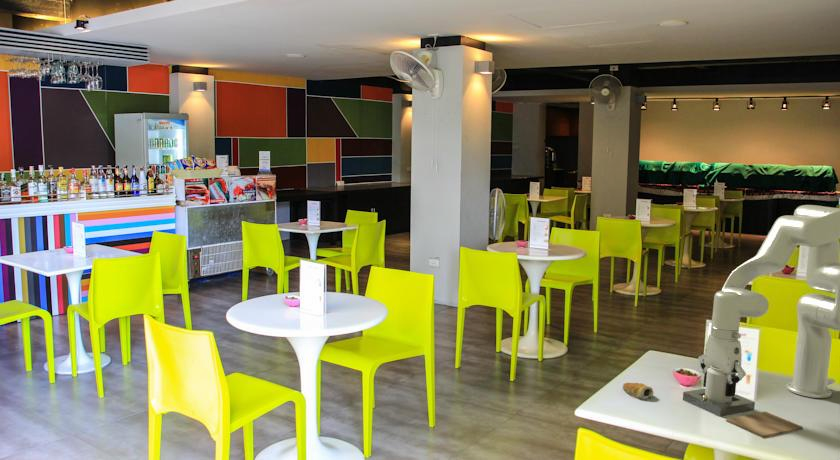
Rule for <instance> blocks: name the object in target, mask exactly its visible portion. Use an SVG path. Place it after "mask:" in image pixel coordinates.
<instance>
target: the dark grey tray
mask: <svg viewBox="0 0 840 460" xmlns="http://www.w3.org/2000/svg"><path fill="white" fill-rule="evenodd" d="M705 389H706V387H703V388H699V389H694V390H693V389H692V390H686V391H683V393H682V401H684V402H685V403H686V402H687V403H689V404H691V405H693V406H696V407H698V408H699V409H702V410H705V411H706V412H709V413H711V414H713V415H715V416H717V417H720V418H721V417H725V416H731V415H738V414H741V413H747V412H751V411H755V406H756V401H754V400H751V399H748V398H746V397H744V396H741V395H738V394H736V393H735V395H734V396H732V402H727V403H722V404H719V403H717V402H715V401H712V400H710V399H708V398H707V396H706V395H705Z"/></svg>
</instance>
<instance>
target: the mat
mask: <svg viewBox="0 0 840 460" xmlns="http://www.w3.org/2000/svg"><path fill="white" fill-rule="evenodd" d="M725 421H726V422H727V423H729V424H731V425H734V426H735V427H739V428H741V429H742V430H745V431H746V432H749V433H751V434H753V435H756V436H757V437H761V438H762V439H763V438H767V437H773V436H777V435H783V434H786V433H791V432H795V431H800V430H803V429H804V426H801V425H799V424H797V423H795V422H792V421H790V420H788V419H784V418H782V417H780V416H777V415H775V414H773V413H770V412H769V411H760V412H756V413H751V414H746V415H740V416H735V417H729V418H726V419H725Z"/></svg>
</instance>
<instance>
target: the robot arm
mask: <svg viewBox="0 0 840 460" xmlns="http://www.w3.org/2000/svg"><path fill="white" fill-rule="evenodd" d="M839 239H840V207H839V208H838V207H831V206H823V205H817V204H815V205H814V204H804V205H803V204H802V205H799V206H797V207H796V209H794V212H793V215H782V216H779V217H778V218H777V219H776V220H775V221H774V223H773V225H772V226H771V229H769V231H768V233H767V235H766V237H765V238H764V240H763V242H762V244H761V246H760V248H759V249H758V251H757V253H756V255H755V256H753V257H751V258H750V259H748V260H746V261H745V262H743V263H742V264H740V265H739V266H737V267H736V268H735V269H734V270H732V271H731V273H729V276H728V277H727V278H726V280H725V282H724V284H723V286H722V288H721V290H719V291H717V292H715V294H714V296H713V308H712V315H711V327H710V334H709V335H708V337H707V340H706V345H705V350H704V354H701V355H700V356H698V362H699V363H700V367H701V369H702V373H703V388H706V378H707V369H709V368H710V366H712V367H713V368H716V369H721V370H722V372H723V373H724V374H726V375H727V379H728V382H729V383H727V385H726V396H727V397H729V396H734V395H735V394H736V391H737V390H736V388H737V384H739V382H740V381H742V379H743V378H744V377H745V376H746V375H747V373H746V371H745V370H744V369H743V367H742V357H743V356H742V344H741V341H740V339H741V337H742V335H741V334H740V325H741V324H740V323H741V318H742V317H743V318H753V319H754V318H755V319H756V318H760V317H762V316H764V315H766V313H768V311H769V307H770V305H769V304H770V303H769V300H768V299H767V297H766V296H764V295H763V294H762V293H760V292H757V291H752V290H749V289H746V287H747V285H749V283H750V282H751V281H753V280H755V279H757V278H759V277H762V276H766V275H767V276H768V275H770V274H774V273H775V274H776V273H778V272H780V271H783V270H784V269H785V268H786V266H787V264H788V262H789V261H790V259H791V257H792V256H793V253H794V252H795V250H796V248H797V247H798V246H802V247H806V248H808V250H807V251H808V253H807V261H806V272H805V273H806V274H805V280H806V281H805V282H806V284H807V285H808V287H810V288H812V289H814V290H817V291H819V292H820V291H821V292H826V293H829V294H834V295H835V296H834V297H833V296H830V295H827V294H826V295H825V294H821V293H817V292H816V293H814V292H811V293H810V292H809V293H806V294H804V295H802V296H801V297H800V298H799V300H798V302H797V303H796V313H797V315H796V316H797V324H798V325H797V338H796V347H795V348H796V349H795V355H794V366H793V376H792V381H789V382H788V383H786V389H787V390H788V391H789V392H791V393H794V394H797V395H799V396H803V397H805V398H812V399H813V398H815V399H827V398H830V397H831V396H832V391H831V390H830V388H828V386H829V385H833V384H835V382H836V381H835V378H833V377H829V378H828V376H829V375H828V374H829V368H830V367H829V366H830V357H831V350H832V343H833V342H832V334H831V332H830V330H834V331H837V332H840V241H839ZM731 375H733V379H732V377H731Z"/></svg>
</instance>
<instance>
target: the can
mask: <svg viewBox="0 0 840 460" xmlns="http://www.w3.org/2000/svg"><path fill="white" fill-rule="evenodd" d="M731 377H732V379H733V375H731ZM727 383H729V382H728V379H727V375H726V374H724V373H723V372H722V370H721V369H716V368H713V367H712V366H710V368H709V369H707V378H706V387H705V388H706V389H705V395H706V396H707V398H708V399H710V400H712V401H715V402H717V403H719V404H722V403H727V402H732V396H729V397H727V396H726V385H727Z"/></svg>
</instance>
